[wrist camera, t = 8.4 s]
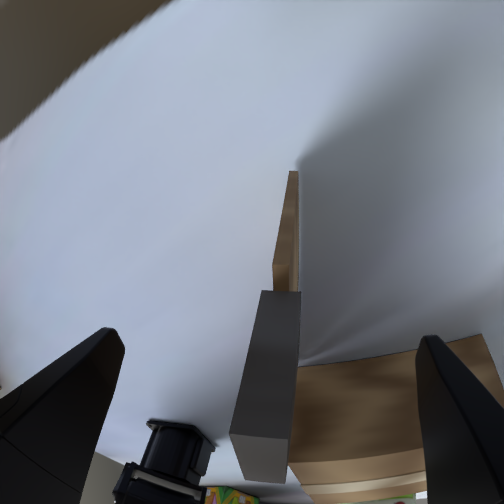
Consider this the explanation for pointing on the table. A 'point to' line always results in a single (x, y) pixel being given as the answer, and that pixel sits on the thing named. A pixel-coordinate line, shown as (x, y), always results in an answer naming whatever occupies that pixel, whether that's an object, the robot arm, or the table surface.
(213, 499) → the chalk box
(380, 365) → the carton
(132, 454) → the table surface
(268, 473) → the side flap
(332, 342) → the table surface
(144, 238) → the table surface
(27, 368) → the table surface
